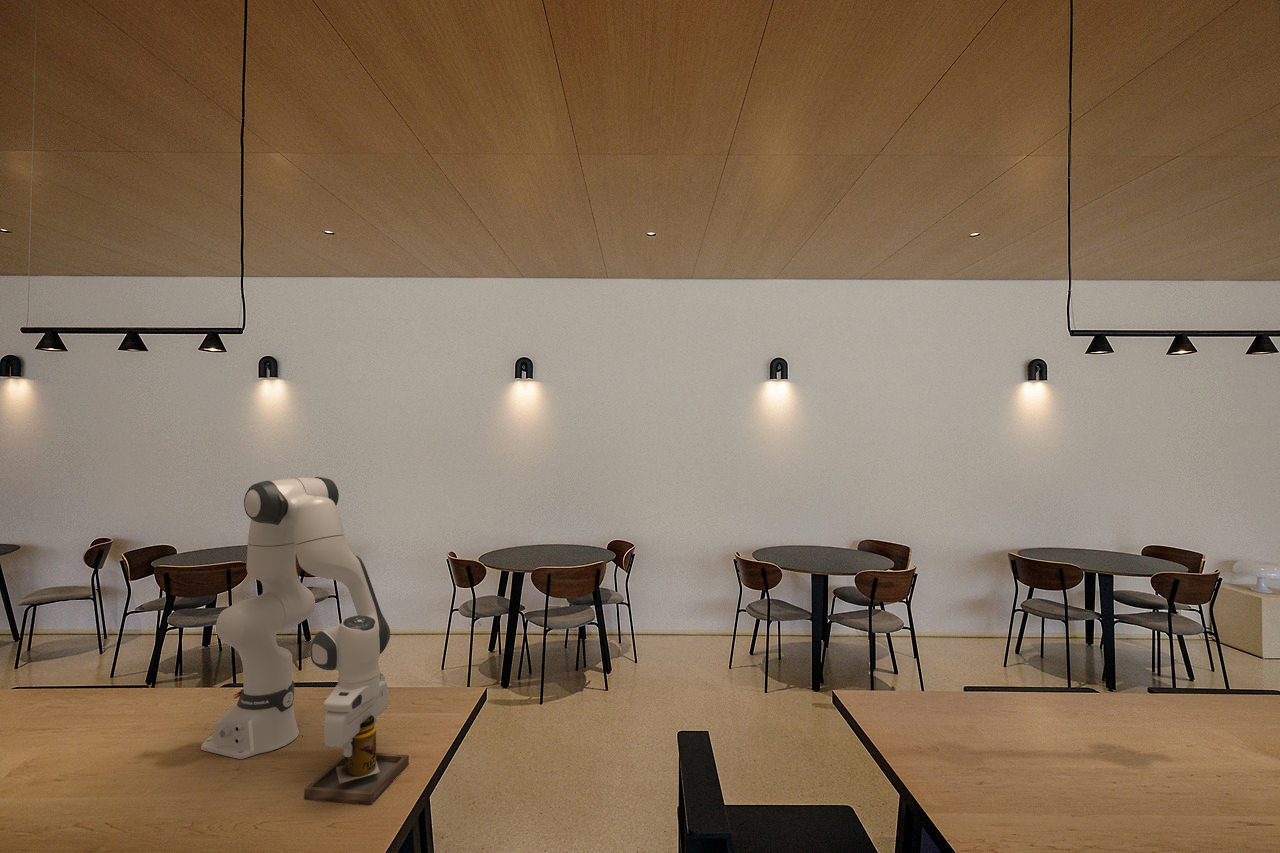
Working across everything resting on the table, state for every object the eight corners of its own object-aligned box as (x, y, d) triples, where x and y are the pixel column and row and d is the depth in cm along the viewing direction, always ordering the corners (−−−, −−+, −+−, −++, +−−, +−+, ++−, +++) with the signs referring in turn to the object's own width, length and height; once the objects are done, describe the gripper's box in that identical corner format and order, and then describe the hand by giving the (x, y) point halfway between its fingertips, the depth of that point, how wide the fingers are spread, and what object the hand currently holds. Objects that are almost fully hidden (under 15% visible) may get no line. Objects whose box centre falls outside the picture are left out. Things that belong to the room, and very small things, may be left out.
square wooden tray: (304, 799, 132) (304, 789, 132) (348, 759, 148) (348, 750, 148) (371, 805, 130) (371, 794, 130) (408, 764, 146) (408, 755, 146)
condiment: (380, 772, 138) (380, 721, 138) (339, 784, 134) (339, 731, 134) (374, 758, 144) (374, 708, 144) (336, 768, 140) (336, 717, 140)
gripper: (372, 669, 150) (371, 723, 150) (318, 706, 130) (317, 770, 130) (395, 670, 149) (395, 725, 149) (345, 708, 129) (344, 772, 129)
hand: (358, 746), depth 139 cm, fingers closed on condiment, 6 cm apart
